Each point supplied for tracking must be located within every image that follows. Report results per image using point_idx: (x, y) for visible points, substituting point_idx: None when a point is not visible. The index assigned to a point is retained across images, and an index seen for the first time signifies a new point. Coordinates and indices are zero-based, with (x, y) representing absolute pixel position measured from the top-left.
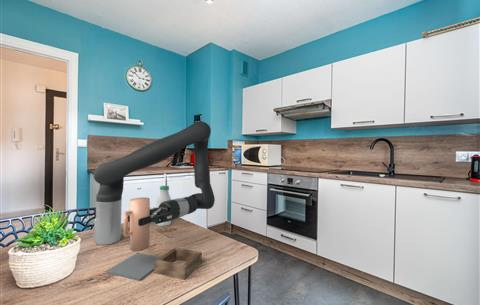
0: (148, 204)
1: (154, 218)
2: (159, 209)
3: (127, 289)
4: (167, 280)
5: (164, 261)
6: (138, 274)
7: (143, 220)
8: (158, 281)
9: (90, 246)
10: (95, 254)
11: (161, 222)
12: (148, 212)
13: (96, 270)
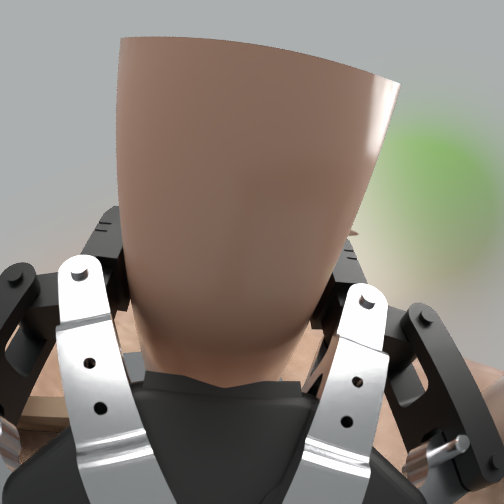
0: (118, 117)
1: (43, 277)
2: (111, 459)
3: (116, 318)
4: (33, 391)
5: (54, 413)
6: (138, 371)
7: (106, 212)
8: (56, 378)
9: (478, 376)
10: (419, 370)
11: (11, 355)
12: (122, 228)
13: (304, 332)
